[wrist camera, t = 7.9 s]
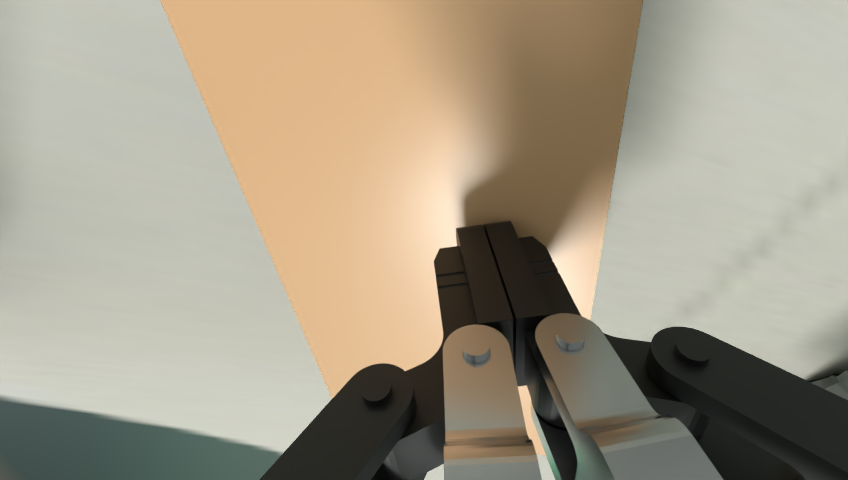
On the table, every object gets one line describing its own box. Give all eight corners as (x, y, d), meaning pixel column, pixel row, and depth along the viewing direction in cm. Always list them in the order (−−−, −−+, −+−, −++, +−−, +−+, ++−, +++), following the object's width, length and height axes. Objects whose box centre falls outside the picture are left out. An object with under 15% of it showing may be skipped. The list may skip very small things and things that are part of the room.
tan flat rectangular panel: (87, -246, 8) (49, -257, 8) (718, -499, 5) (734, -555, 4) (341, 390, 21) (334, 404, 21) (567, 442, 18) (566, 460, 17)
